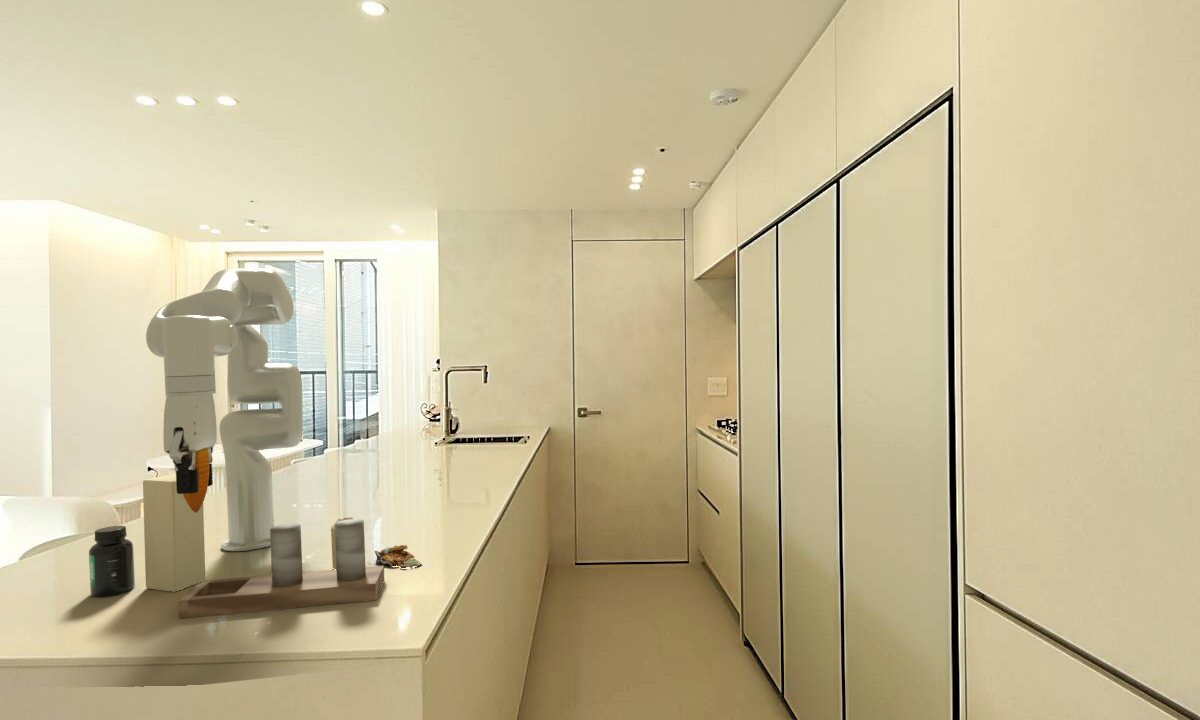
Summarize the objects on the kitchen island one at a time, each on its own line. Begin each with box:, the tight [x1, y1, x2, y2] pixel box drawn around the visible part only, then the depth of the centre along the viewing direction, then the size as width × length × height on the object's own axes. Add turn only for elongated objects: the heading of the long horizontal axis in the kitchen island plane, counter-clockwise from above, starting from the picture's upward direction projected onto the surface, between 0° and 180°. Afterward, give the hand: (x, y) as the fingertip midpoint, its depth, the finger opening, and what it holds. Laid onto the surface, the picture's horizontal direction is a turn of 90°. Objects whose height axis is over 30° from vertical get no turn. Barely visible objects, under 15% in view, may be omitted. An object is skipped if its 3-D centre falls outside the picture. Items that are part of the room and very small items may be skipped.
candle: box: [330, 517, 354, 569], centre depth 136 cm, size 6×6×10 cm
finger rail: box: [177, 518, 385, 619], centre depth 119 cm, size 10×32×13 cm, turn 100°
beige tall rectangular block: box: [142, 473, 206, 593], centre depth 129 cm, size 8×7×21 cm
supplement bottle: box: [88, 525, 136, 598], centre depth 126 cm, size 7×7×12 cm
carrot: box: [182, 449, 210, 513], centre depth 116 cm, size 5×5×15 cm
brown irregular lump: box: [368, 544, 422, 568], centre depth 138 cm, size 7×12×4 cm, turn 62°
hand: (195, 488), depth 116 cm, fingers closed on carrot, 4 cm apart
